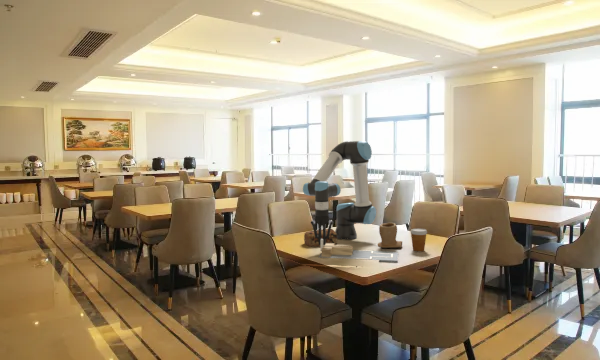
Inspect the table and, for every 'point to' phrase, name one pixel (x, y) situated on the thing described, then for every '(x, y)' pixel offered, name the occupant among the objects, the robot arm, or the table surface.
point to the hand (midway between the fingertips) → (322, 250)
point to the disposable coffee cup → (418, 239)
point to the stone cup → (389, 236)
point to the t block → (336, 250)
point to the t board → (369, 255)
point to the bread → (312, 241)
